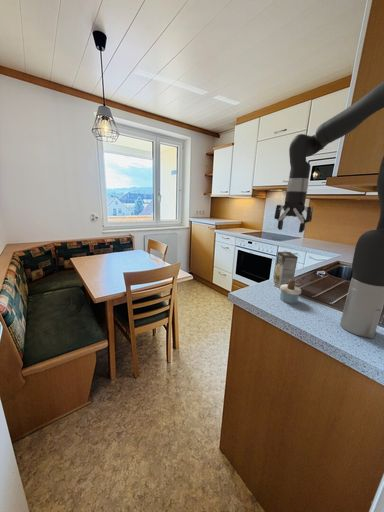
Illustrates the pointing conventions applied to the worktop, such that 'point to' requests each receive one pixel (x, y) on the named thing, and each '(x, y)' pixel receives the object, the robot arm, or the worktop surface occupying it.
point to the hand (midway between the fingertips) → (290, 230)
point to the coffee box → (284, 268)
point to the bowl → (288, 298)
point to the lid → (290, 288)
